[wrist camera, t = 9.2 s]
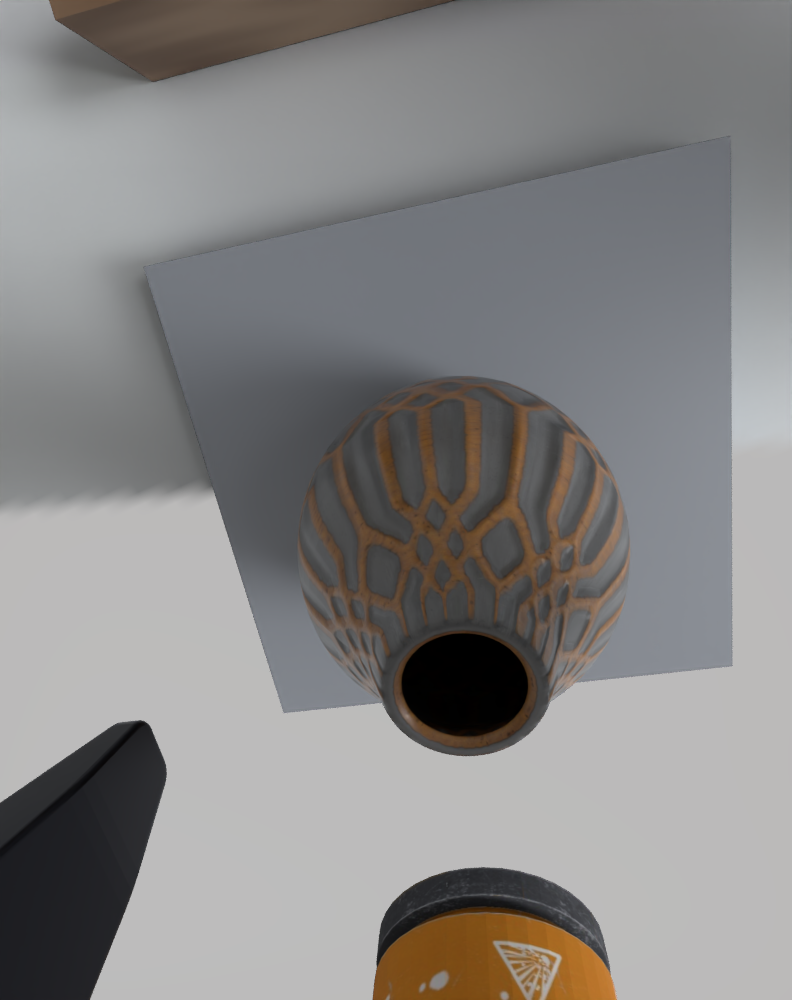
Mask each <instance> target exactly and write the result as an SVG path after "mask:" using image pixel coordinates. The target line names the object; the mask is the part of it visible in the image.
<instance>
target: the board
mask: <svg viewBox="0 0 792 1000" xmlns="http://www.w3.org/2000/svg"><path fill="white" fill-rule="evenodd" d="M144 270H145V273H146V277H147V280H148V283H149V286H150V289H151V293H152V296H153V299H154V302H155V305H156V308H157V312H158V315H159V318H160V321H161V324H162V327H163V331H164V334H165V337H166V340H167V343H168V347H169V350H170V353H171V356H172V359H173V362H174V366H175V369H176V372H177V375H178V378H179V382H180V385H181V388H182V391H183V394H184V397H185V401H186V404H187V407H188V410H189V413H190V416H191V420H192V423H193V426H194V429H195V432H196V436H197V439H198V442H199V445H200V448H201V451H202V455H203V458H204V461H205V464H206V467H207V471H208V474H209V477H210V480H211V483H212V486H213V490H214V493H215V496H216V499H217V502H218V505H219V509H220V512H221V515H222V518H223V521H224V524H225V528H226V531H227V534H228V537H229V540H230V543H231V546H232V550H233V553H234V556H235V559H236V563H237V566H238V569H239V572H240V575H241V578H242V582H243V585H244V588H245V591H246V594H247V598H248V601H249V604H250V607H251V610H252V613H253V617H254V620H255V623H256V626H257V629H258V633H259V636H260V639H261V642H262V645H263V649H264V652H265V655H266V658H267V661H268V664H269V668H270V671H271V674H272V677H273V680H274V683H275V687H276V690H277V693H278V696H279V699H280V703H281V706H282V709H283V712H284V713H287V712H298V711H307V710H317V709H327V708H336V707H346V706H355V705H365V704H375V703H382V702H381V701H379V700H377V699H376V698H374V697H373V696H372V695H370V694H369V693H368V692H366V691H365V690H364V689H362V688H361V687H360V686H359V685H358V684H356V683H355V682H354V681H353V680H352V679H351V678H350V677H349V676H348V675H347V674H346V673H345V672H344V671H343V670H342V669H341V668H340V667H339V665H338V664H337V663H336V662H335V660H334V659H333V658H332V656H331V655H330V654H329V652H328V651H327V650H326V648H325V646H324V645H323V643H322V642H321V640H320V638H319V636H318V634H317V632H316V630H315V628H314V625H313V623H312V621H311V618H310V616H309V614H308V611H307V608H306V604H305V601H304V597H303V593H302V589H301V583H300V577H299V568H298V557H297V544H298V527H299V520H300V515H301V510H302V505H303V502H304V498H305V494H306V491H307V488H308V486H309V483H310V481H311V479H312V476H313V474H314V472H315V470H316V468H317V466H318V464H319V463H320V461H321V459H322V457H323V456H324V454H325V452H326V451H327V450H328V448H329V447H330V445H331V444H332V443H333V441H334V440H335V439H336V438H337V436H338V435H339V434H340V433H341V432H342V430H343V429H344V428H345V427H346V426H347V425H348V424H349V423H350V422H351V421H352V420H353V419H354V418H355V417H357V416H358V415H359V414H360V413H361V412H362V411H364V410H365V409H366V408H368V407H369V406H370V405H372V404H373V403H374V402H376V401H378V400H379V399H381V398H382V397H384V396H386V395H388V394H390V393H392V392H394V391H395V390H398V389H400V388H403V387H405V386H407V385H411V384H414V383H417V382H420V381H424V380H428V379H433V378H440V377H449V376H475V377H484V378H490V379H495V380H499V381H504V382H507V383H510V384H513V385H516V386H519V387H521V388H523V389H526V390H528V391H530V392H532V393H534V394H536V395H538V396H539V397H541V398H543V399H544V400H546V401H548V402H549V403H551V404H552V405H554V406H555V407H557V408H558V409H559V410H561V411H562V412H563V413H565V414H566V415H567V416H568V417H569V418H570V419H571V420H572V421H573V422H574V423H576V424H577V425H578V426H579V428H580V429H581V430H582V431H583V432H584V433H585V434H586V435H587V436H588V437H589V438H590V440H591V441H592V442H593V444H594V445H595V446H596V448H597V449H598V451H599V452H600V454H601V455H602V457H603V458H604V460H605V461H606V463H607V464H608V466H609V468H610V470H611V472H612V474H613V476H614V478H615V480H616V483H617V485H618V488H619V491H620V494H621V497H622V500H623V503H624V507H625V511H626V515H627V521H628V528H629V537H630V571H629V579H628V586H627V592H626V596H625V601H624V605H623V608H622V611H621V614H620V617H619V619H618V622H617V624H616V627H615V629H614V631H613V634H612V636H611V637H610V639H609V641H608V643H607V645H606V646H605V648H604V649H603V651H602V653H601V654H600V655H599V657H598V658H597V659H596V661H595V662H594V663H593V664H592V666H591V667H590V668H589V669H588V670H587V672H586V673H585V674H584V675H583V676H582V677H581V678H580V679H579V680H578V681H577V682H585V681H595V680H604V679H614V678H624V677H633V676H643V675H653V674H662V673H672V672H681V671H691V670H700V669H709V668H720V667H729V666H732V427H731V148H730V136H726V137H722V138H717V139H713V140H708V141H704V142H699V143H695V144H690V145H686V146H682V147H677V148H673V149H668V150H664V151H659V152H655V153H650V154H646V155H641V156H637V157H632V158H628V159H623V160H619V161H614V162H610V163H605V164H601V165H597V166H592V167H588V168H583V169H579V170H574V171H570V172H565V173H561V174H556V175H552V176H547V177H543V178H538V179H534V180H529V181H525V182H520V183H516V184H512V185H507V186H503V187H498V188H494V189H489V190H485V191H480V192H476V193H471V194H467V195H462V196H458V197H453V198H449V199H444V200H440V201H435V202H431V203H427V204H422V205H418V206H413V207H409V208H404V209H400V210H395V211H391V212H386V213H382V214H377V215H373V216H368V217H364V218H359V219H355V220H350V221H346V222H342V223H337V224H333V225H328V226H324V227H319V228H315V229H310V230H306V231H301V232H297V233H292V234H288V235H283V236H279V237H274V238H270V239H265V240H261V241H257V242H252V243H248V244H243V245H239V246H234V247H230V248H225V249H221V250H216V251H212V252H207V253H203V254H198V255H194V256H189V257H185V258H180V259H176V260H172V261H167V262H163V263H158V264H154V265H149V266H145V267H144Z"/></svg>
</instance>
